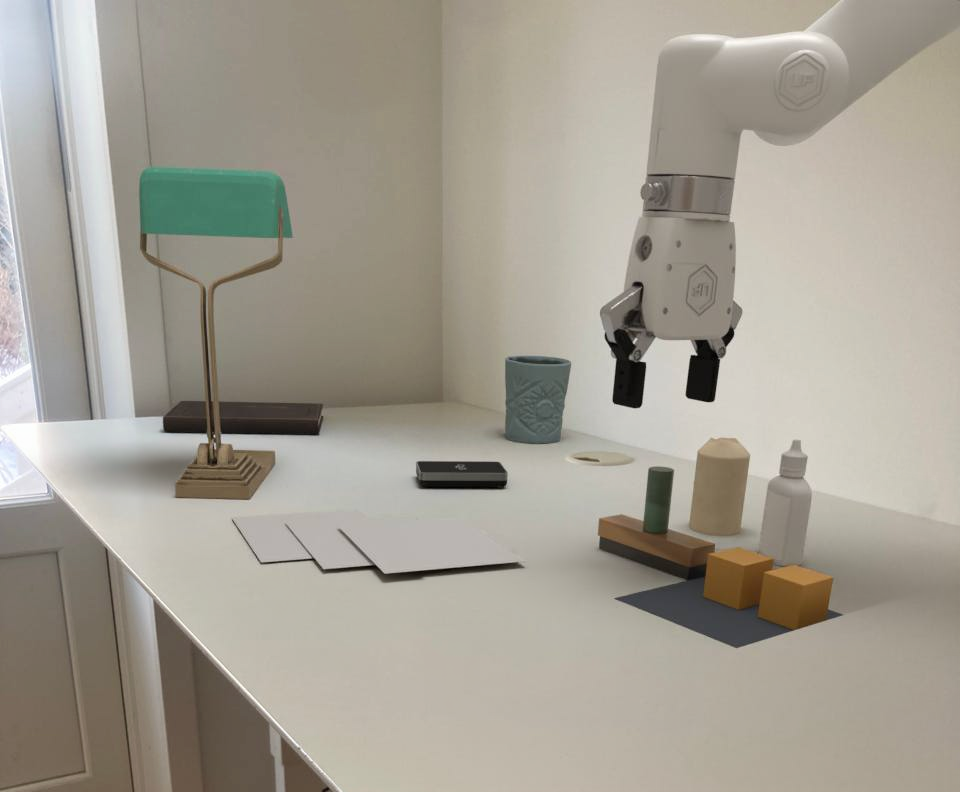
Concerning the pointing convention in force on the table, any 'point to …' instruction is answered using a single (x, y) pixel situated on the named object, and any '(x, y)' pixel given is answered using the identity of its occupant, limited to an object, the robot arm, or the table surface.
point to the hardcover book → (246, 418)
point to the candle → (719, 487)
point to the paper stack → (372, 541)
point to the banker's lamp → (214, 212)
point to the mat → (707, 613)
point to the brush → (656, 534)
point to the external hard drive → (461, 474)
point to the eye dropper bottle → (787, 510)
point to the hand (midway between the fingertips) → (664, 403)
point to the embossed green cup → (535, 398)
